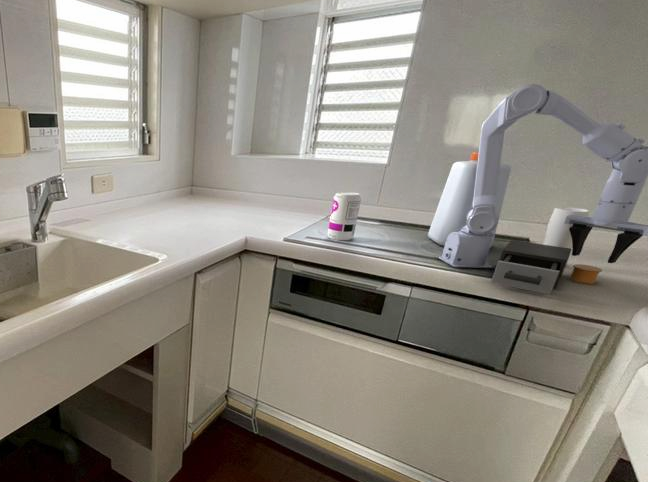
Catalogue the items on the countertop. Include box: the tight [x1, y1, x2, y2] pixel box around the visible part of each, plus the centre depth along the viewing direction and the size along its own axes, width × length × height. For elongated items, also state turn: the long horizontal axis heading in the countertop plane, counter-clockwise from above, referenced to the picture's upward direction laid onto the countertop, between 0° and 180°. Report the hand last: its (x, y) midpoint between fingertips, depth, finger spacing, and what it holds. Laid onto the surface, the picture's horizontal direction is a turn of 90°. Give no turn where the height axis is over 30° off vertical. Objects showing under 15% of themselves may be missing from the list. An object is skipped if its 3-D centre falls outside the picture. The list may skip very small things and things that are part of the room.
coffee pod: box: [569, 263, 603, 285], centre depth 98 cm, size 5×5×3 cm
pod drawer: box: [490, 254, 560, 295], centre depth 94 cm, size 17×10×5 cm, turn 133°
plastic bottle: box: [427, 151, 512, 248], centre depth 126 cm, size 15×15×28 cm
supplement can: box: [327, 191, 362, 241], centre depth 135 cm, size 8×8×15 cm
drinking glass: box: [542, 206, 590, 250], centre depth 109 cm, size 7×7×15 cm
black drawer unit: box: [498, 239, 572, 290], centre depth 101 cm, size 14×12×7 cm
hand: (592, 258), depth 97 cm, fingers open, 6 cm apart
